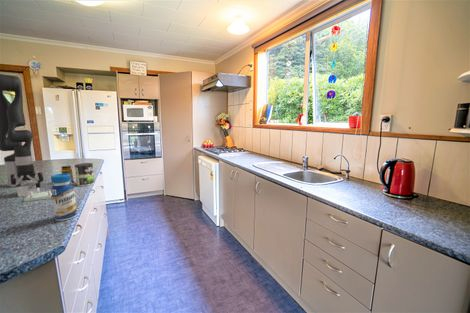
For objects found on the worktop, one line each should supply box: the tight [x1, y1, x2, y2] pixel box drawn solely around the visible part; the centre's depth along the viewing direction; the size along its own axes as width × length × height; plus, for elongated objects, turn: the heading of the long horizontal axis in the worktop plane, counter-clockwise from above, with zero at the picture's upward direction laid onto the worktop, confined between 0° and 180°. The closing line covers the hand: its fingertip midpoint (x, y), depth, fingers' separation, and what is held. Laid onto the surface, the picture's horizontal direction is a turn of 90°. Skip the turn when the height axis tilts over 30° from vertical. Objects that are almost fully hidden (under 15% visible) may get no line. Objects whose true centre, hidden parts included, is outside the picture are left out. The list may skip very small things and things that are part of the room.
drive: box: [16, 181, 41, 198], centre depth 130 cm, size 12×5×6 cm, turn 19°
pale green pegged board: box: [23, 188, 52, 203], centre depth 124 cm, size 14×11×4 cm
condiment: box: [61, 165, 74, 184], centre depth 153 cm, size 7×8×12 cm
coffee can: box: [74, 162, 95, 187], centre depth 148 cm, size 10×10×14 cm
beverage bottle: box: [50, 173, 78, 222], centre depth 96 cm, size 8×8×20 cm
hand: (29, 189), depth 129 cm, fingers open, 8 cm apart
